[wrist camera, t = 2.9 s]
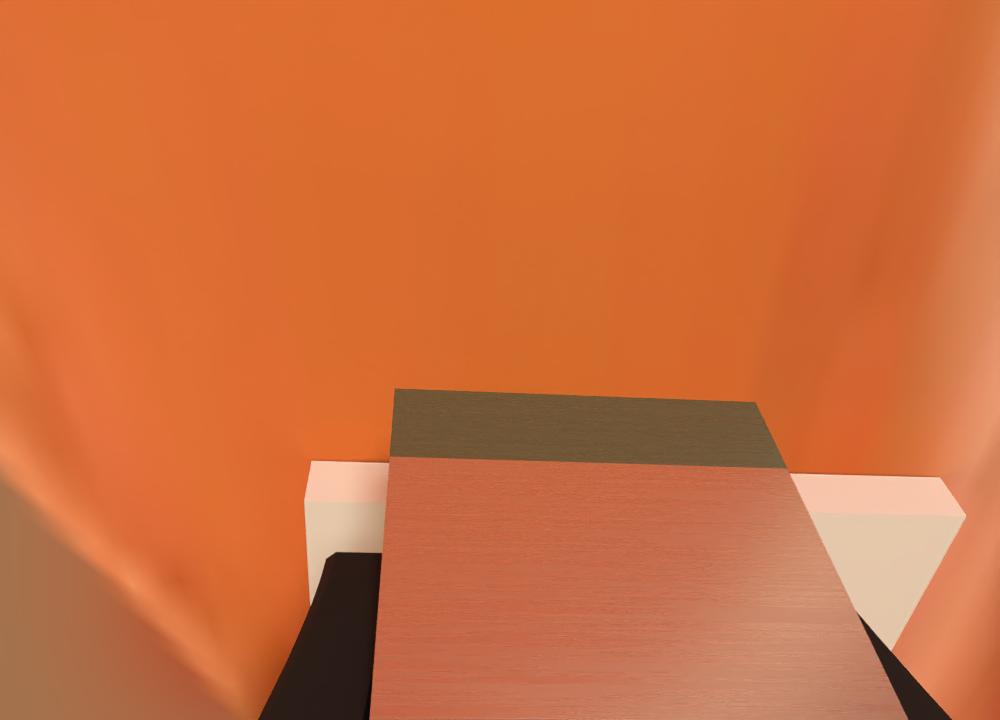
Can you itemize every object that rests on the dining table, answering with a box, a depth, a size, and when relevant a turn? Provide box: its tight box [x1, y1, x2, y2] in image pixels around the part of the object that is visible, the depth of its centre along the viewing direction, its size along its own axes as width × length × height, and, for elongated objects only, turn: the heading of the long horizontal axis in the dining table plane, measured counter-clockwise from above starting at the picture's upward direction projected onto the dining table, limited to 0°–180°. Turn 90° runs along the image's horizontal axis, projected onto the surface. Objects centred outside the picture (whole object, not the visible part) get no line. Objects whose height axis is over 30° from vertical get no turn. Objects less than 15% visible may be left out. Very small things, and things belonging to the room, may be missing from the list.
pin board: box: [304, 461, 966, 651], centre depth 20 cm, size 14×10×4 cm
